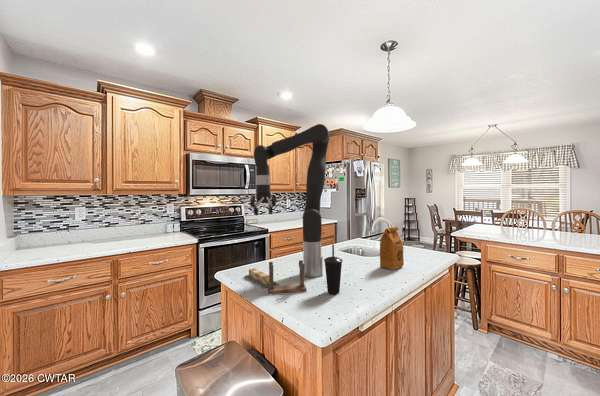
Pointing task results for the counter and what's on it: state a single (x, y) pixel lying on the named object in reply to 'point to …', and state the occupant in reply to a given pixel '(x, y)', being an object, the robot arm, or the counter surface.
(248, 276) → the grey flat plank
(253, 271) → the rail
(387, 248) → the coffee package
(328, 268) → the drinking cup
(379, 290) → the counter surface
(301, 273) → the rack
